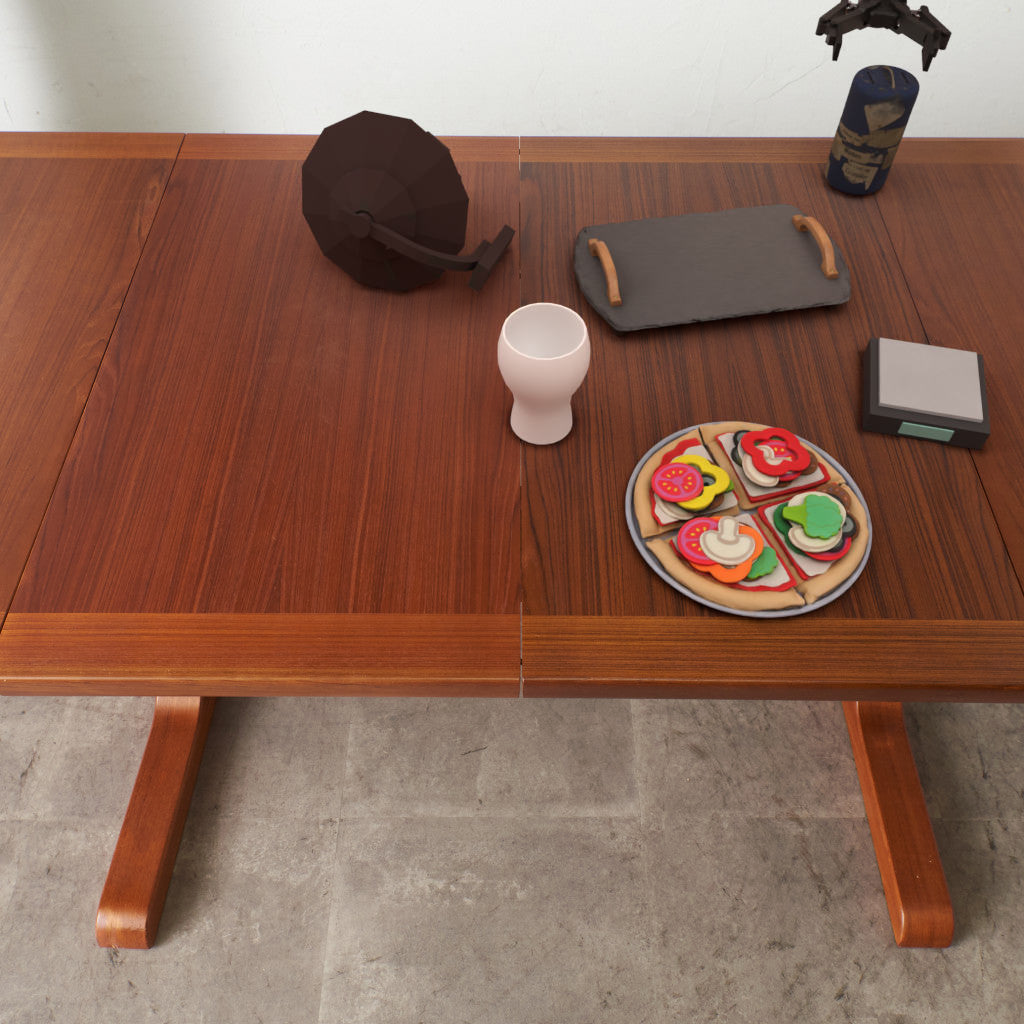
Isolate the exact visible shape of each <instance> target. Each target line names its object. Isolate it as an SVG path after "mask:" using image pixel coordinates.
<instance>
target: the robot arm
mask: <svg viewBox="0 0 1024 1024" xmlns="http://www.w3.org/2000/svg"><path fill="white" fill-rule="evenodd" d="M816 25H817V26H816V30H815V32H814V34H815V35H816V36H818V37H821V36H823V35H826V37H825V41H824V43H825V44H826V45H827V46H832V57H831V61H832V62H838V58H839V57H840V52H841V50H842V46H843V38H844V37H843V36H844V35H846V34H848V33H850V32H851V33H852V32H853V31H855V30H858V31H862V30H864V29H867V28H871V29H885V30H890V31H892V32H893V33H894V34H896V35H903V36H905V37H907V38H908V39H909V40H911V41H912V42H914V43H915V44H918V45H919V46H921V67H922V72H925V73H928V72H929V70H930V67H931V65H932V62H933V59H936V57H937V56H938V52H939V50H940V51H945V50H947V47H948V44H949V42H950V39H951V36H952V34H953V33H952V31H951V30H950V29H949V28H948V27H946V25H944V24H943V23H942V22H941V21H940V20H939V19H938V18H937V17H936V16H935V15H934V14H932V13H931V12H930V9H929V6H927V5H924V4H922V5H920V6H919V9H911V7H910V6H909V5H908V0H857V3H854V2H852V1H851V0H840V2H839V3H837V4H836V5H834V6H833V7H832V8H830V9H829V10H828V11H826V12H825V13H823V14H822V15H821V16H819V18H818V22H817V24H816Z"/></svg>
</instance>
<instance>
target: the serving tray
mask: <svg viewBox="0 0 1024 1024" xmlns="http://www.w3.org/2000/svg"><path fill="white" fill-rule="evenodd" d="M572 249H573V250H572V251H573V253H572V261H573V266H572V271H573V273H574V276H575V279H576V282H577V284H578V287H579V291H580V292H581V293H582V295H583V296H584V299H585V300H586V301H587V302H588V304H589V306H591V308H593V310H594V311H595V313H597V314H598V315H599V316H600V317H601V318H602V319H604V321H606V323H607V324H608V325H610V329H611V332H612V333H613V335H614V336H615V337H617V338H619V337H623V336H624V335H625V334H626V332H632V331H640V330H645V329H646V330H647V329H656V328H658V329H659V328H662V327H669V326H677V325H689V324H694V323H698V322H701V323H702V322H703V323H704V322H708V321H718V320H724V319H730V318H734V319H735V318H739V317H750V316H755V315H765V314H771V313H780V312H787V311H793V310H800V309H801V310H802V309H809V308H817V307H825V306H827V307H828V308H829V309H831V310H835V309H837V308H838V307H840V306H841V305H842V304H845V303H848V302H849V301H850V299H851V297H852V283H851V278H852V277H851V273H850V269H849V266H848V264H847V262H846V259H845V257H844V254H843V251H842V250H841V248H840V247H839V245H838V243H837V242H836V241H835V240H834V238H833V237H832V236H831V235H830V234H829V233H828V232H827V231H826V230H825V229H824V227H823V226H822V224H821V223H820V222H819V221H818V220H817V219H816V218H815V217H813V216H809V215H808V214H807V213H805V212H803V211H802V210H801V209H800V208H798V207H796V206H794V205H791V204H789V203H775V204H768V205H767V204H766V205H765V204H764V205H757V206H748V207H735V208H728V209H723V210H719V211H718V210H717V211H709V212H691V213H683V214H677V215H669V216H662V217H653V218H651V217H645V218H641V219H635V220H631V221H621V222H608V223H603V224H592V225H587V226H585V227H582V228H581V229H580V230H579V231H578V233H577V235H576V241H575V245H574V248H572Z"/></svg>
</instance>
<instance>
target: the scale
mask: <svg viewBox="0 0 1024 1024" xmlns="http://www.w3.org/2000/svg"><path fill="white" fill-rule="evenodd" d="M862 361H863V364H862V365H863V367H862V372H863V373H862V431H866V432H872V433H877V434H885V435H891V436H895V437H900V438H901V437H902V438H907V439H912V440H913V439H914V440H918V441H919V440H920V441H924V442H931V443H937V444H943V445H949V446H954V447H960V448H967V449H973V450H978V451H981V450H982V448H983V447H984V445H985V443H986V442H987V440H988V439H989V437H990V436H991V421H990V414H989V404H988V403H989V402H988V393H987V383H986V373H985V363H984V355H983V354H982V353H977V352H975V351H970V350H962V349H956V348H949V347H943V346H936V345H930V344H925V343H919V342H918V343H917V342H912V341H911V342H910V341H905V340H899V339H891V338H886V337H885V338H884V337H879V338H878V337H870V338H869V340H868V342H867V345H866V346H865V350H864V352H863V360H862Z"/></svg>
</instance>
